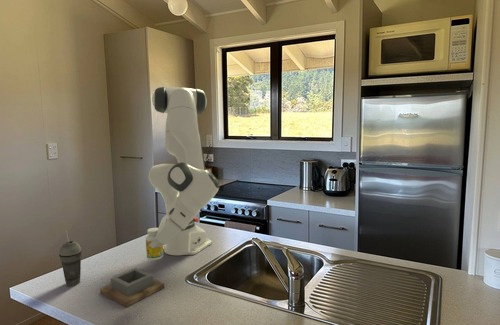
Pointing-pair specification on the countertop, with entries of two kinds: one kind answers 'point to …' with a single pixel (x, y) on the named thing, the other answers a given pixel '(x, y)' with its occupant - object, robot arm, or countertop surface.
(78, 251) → the beverage cup
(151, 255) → the supplement bottle
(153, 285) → the collar socket
